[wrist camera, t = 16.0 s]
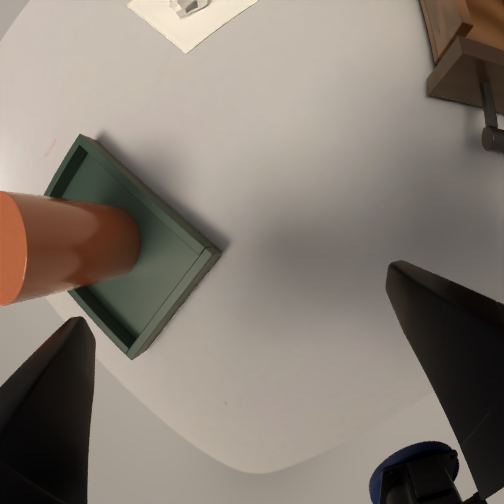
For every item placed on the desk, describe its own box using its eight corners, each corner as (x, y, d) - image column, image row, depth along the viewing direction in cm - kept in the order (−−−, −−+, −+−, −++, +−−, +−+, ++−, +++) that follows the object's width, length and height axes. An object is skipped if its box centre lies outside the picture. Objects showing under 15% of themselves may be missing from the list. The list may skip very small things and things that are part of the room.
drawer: (548, 181, 15) (598, 170, 9) (433, 156, 17) (476, 129, 11) (501, -4, 14) (525, -38, 8) (399, -36, 16) (410, -82, 10)
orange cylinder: (153, 225, 20) (40, 220, 10) (123, 293, 21) (13, 328, 11) (98, 192, 21) (-14, 174, 11) (73, 256, 21) (-35, 268, 12)
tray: (222, 252, 20) (213, 254, 18) (145, 350, 21) (131, 360, 19) (96, 140, 21) (79, 133, 19) (41, 234, 23) (24, 234, 21)
